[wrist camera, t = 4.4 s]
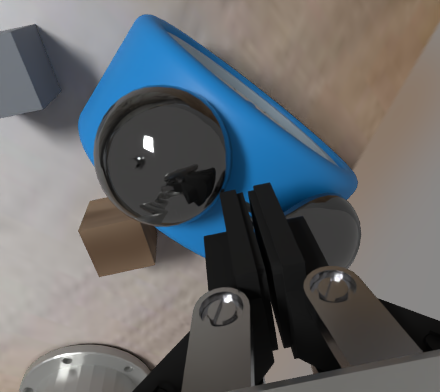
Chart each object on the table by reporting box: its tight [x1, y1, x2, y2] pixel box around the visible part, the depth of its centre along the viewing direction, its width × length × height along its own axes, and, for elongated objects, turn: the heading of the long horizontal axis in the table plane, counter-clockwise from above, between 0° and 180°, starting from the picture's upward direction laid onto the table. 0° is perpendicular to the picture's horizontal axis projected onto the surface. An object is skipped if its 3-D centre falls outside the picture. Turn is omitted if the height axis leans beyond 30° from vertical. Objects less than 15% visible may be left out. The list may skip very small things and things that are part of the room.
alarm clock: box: [78, 14, 361, 269], centre depth 19 cm, size 13×6×15 cm, turn 54°
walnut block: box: [78, 197, 157, 277], centre depth 28 cm, size 4×4×4 cm
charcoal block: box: [0, 24, 61, 118], centre depth 22 cm, size 4×4×4 cm
